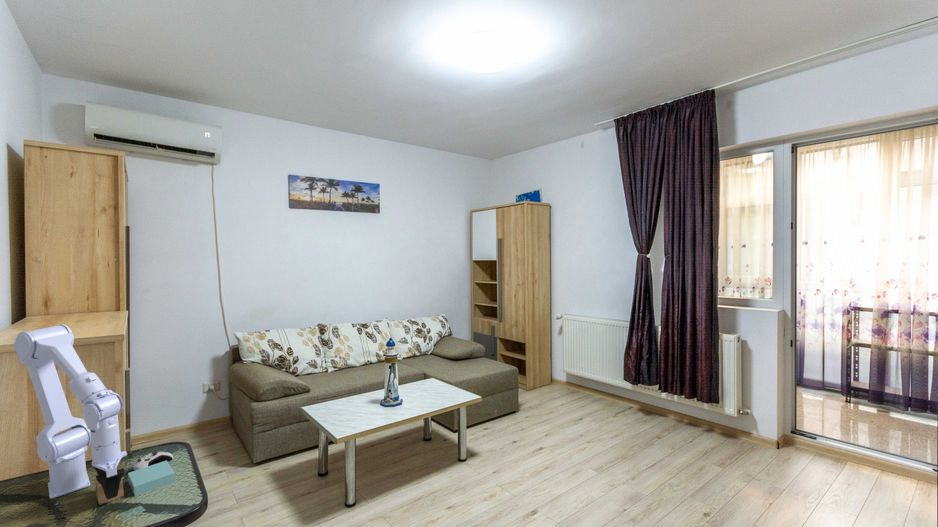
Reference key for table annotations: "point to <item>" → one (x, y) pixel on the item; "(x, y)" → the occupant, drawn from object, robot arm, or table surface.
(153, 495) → the table surface
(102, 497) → the walnut cube
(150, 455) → the game controller
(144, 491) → the teal box
